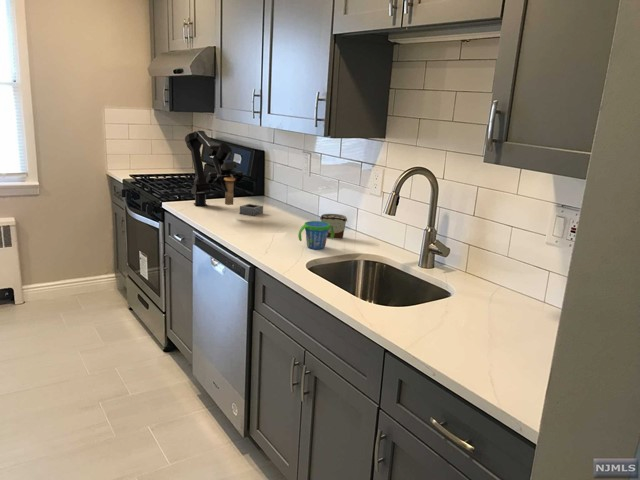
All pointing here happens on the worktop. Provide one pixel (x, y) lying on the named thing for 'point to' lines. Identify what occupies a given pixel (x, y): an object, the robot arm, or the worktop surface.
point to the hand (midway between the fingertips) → (230, 191)
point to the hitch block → (251, 209)
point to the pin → (229, 190)
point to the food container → (335, 224)
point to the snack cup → (316, 234)
